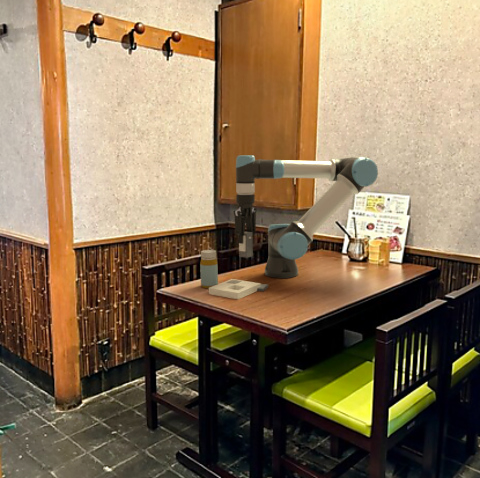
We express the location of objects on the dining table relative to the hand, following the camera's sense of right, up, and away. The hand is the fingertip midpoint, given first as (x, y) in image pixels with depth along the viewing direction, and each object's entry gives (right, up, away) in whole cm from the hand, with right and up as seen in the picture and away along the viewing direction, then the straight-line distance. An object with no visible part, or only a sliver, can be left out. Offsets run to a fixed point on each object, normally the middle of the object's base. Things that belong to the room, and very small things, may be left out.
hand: (245, 250), depth 203 cm
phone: (+7, -16, -4) cm, 18 cm away
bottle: (-15, -15, 0) cm, 22 cm away
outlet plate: (-4, -16, -8) cm, 19 cm away
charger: (0, -3, 0) cm, 3 cm away
